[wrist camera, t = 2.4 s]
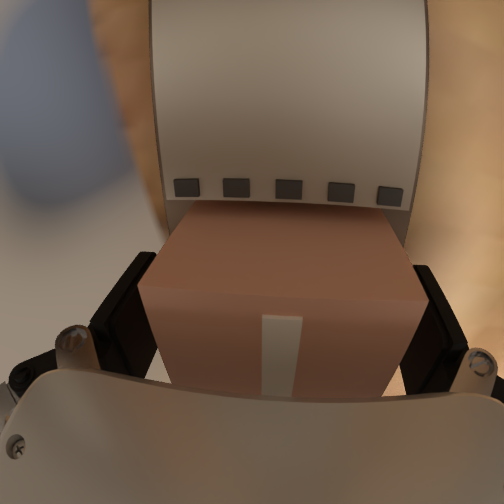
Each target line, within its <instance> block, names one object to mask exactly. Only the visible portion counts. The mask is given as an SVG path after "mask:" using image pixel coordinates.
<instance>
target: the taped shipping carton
mask: <svg viewBox="0 0 504 504" xmlns="http://www.w3.org/2000/svg"><path fill="white" fill-rule="evenodd" d="M137 286H138V289H139V293H140V296H141V299H142V302H143V305H144V309H145V312H146V315H147V318H148V321H149V324H150V327H151V330H152V332H153V335H154V338H155V341H156V344H157V347H158V349H159V352H160V355H161V357H162V360H163V363H164V365H165V368H166V370H167V373H168V375H169V378H170V380H171V383H172V384H176V385H182V386H188V387H195V388H202V389H209V390H217V391H225V392H234V393H244V394H255V395H268V396H284V397H308V398H361V397H381V396H382V394H383V393H384V391H385V389H386V387H387V386H388V384H389V382H390V380H391V379H392V377H393V375H394V373H395V371H396V369H397V368H398V366H399V364H400V362H401V360H402V358H403V356H404V354H405V352H406V350H407V348H408V346H409V344H410V342H411V340H412V338H413V336H414V334H415V332H416V329H417V327H418V325H419V323H420V321H421V318H422V316H423V314H424V311H425V309H426V307H427V304H428V302H429V300H428V297H427V295H426V293H425V291H424V289H423V287H422V285H421V283H420V280H419V278H418V276H417V274H416V272H415V270H414V268H413V266H412V264H411V262H410V260H409V259H408V257H407V255H406V253H405V251H404V249H403V247H402V245H401V243H400V242H399V240H398V238H397V236H396V234H395V233H394V231H393V229H392V227H391V225H390V224H389V222H388V220H387V219H386V217H385V215H384V213H383V212H382V210H381V208H372V207H359V206H345V205H330V204H313V203H293V202H268V201H234V200H195V202H194V203H193V204H192V206H191V207H190V209H189V210H188V211H187V213H186V214H185V216H184V217H183V218H182V220H181V221H180V223H179V224H178V225H177V227H176V228H175V230H174V231H173V232H172V234H171V235H170V237H169V238H168V240H167V241H166V243H165V244H164V246H163V247H162V248H161V250H160V251H159V253H158V254H157V256H156V257H155V259H154V260H153V262H152V263H151V265H150V266H149V268H148V269H147V271H146V272H145V274H144V275H143V277H142V279H141V280H140V282H139V283H138V285H137Z"/></svg>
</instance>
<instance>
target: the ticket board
mask: <svg viewBox="0 0 504 504" xmlns="http://www.w3.org/2000/svg"><path fill="white" fill-rule="evenodd" d="M149 48H150V70H151V86H152V100H153V112H154V123H155V133H156V142H157V151H158V160H159V168H160V175H161V183H162V190H163V197H164V204H165V210H166V217H167V223H168V229H169V235H171V234H172V232H173V231H174V230H175V228H176V227H177V225H178V224H179V223H180V221H181V220H182V218H183V217H184V216H185V214H186V213H187V211H188V210H189V209H190V207H191V206H192V204H193V203H194V202H195V200H234V201H268V202H293V203H313V204H330V205H345V206H359V207H372V208H381V210H382V212H383V213H384V215H385V217H386V219H387V220H388V222H389V224H390V225H391V227H392V229H393V231H394V233H395V234H396V236H397V238H398V240H399V242H400V243H401V245H402V247H403V246H404V242H405V238H406V234H407V230H408V225H409V221H410V216H411V212H412V207H413V202H414V197H415V192H416V187H417V181H418V175H419V169H420V163H421V156H422V149H423V141H424V133H425V123H426V113H427V100H428V82H429V23H428V7H427V0H149Z"/></svg>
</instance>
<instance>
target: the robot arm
mask: <svg viewBox="0 0 504 504" xmlns="http://www.w3.org/2000/svg"><path fill="white" fill-rule="evenodd" d="M156 256H157V255H156V253H155V252H140V253H139V254H138V255H137V257H136V258H135V259H134V260H133V262H132V263H131V264H130V266H129V267H128V268H127V270H126V271H125V272H124V274H123V275H122V276H121V278H120V279H119V280H118V282H117V283H116V285H115V286H114V287H113V289H112V290H111V291H110V293H109V294H108V295H107V297H106V298H105V300H104V301H103V302H102V304H101V305H100V307H99V308H98V310H97V311H96V312H95V314H94V315H93V317H92V318H91V320H90V324H89V326H88V327H86V326H83V325H73V326H70V327H68V328H66V329H64V330H63V331H62V332H60V334H59V335H58V336H57V338H56V340H55V349H52V350H50V351H48V352H45V353H43V354H41V355H39V356H36V357H33V358H31V359H29V360H26V361H24V362H22V363H20V364H18V365H17V366H15V367H14V368H13V370H12V371H11V373H10V376H9V383H7V384H6V382H5V381H4V382H3V383H1V384H0V504H504V379H502V378H501V377H499V376H498V375H497V371H498V366H497V362H496V360H495V358H494V357H493V356H492V355H491V354H490V353H489V352H488V351H486V350H484V349H482V348H471V349H470V350H469V347H468V345H467V343H468V342H467V340H466V337H465V335H464V333H463V331H462V329H461V327H460V325H459V323H458V321H457V319H456V317H455V315H454V313H453V311H452V309H451V307H450V305H449V303H448V301H447V299H446V297H445V295H444V293H443V292H442V290H441V288H440V286H439V284H438V282H437V281H436V279H435V277H434V275H433V274H432V272H431V270H430V268H429V267H428V266H426V265H413V268H414V270H415V272H416V274H417V276H418V278H419V280H420V283H421V285H422V287H423V289H424V291H425V293H426V295H427V297H428V300H429V302H428V304H427V307H426V309H425V311H424V314H423V316H422V318H421V321H420V323H419V325H418V327H417V329H416V332H415V334H414V336H413V338H412V340H411V342H410V344H409V346H408V348H407V350H406V352H405V354H404V356H403V358H402V360H401V362H400V364H399V365H400V369H401V373H402V378H403V382H404V386H405V391H406V395H401V396H384V397H361V398H308V397H284V396H268V395H255V394H244V393H234V392H225V391H217V390H209V389H202V388H195V387H188V386H182V385H176V384H170V383H165V382H159V381H154V380H148V379H144V378H145V376H146V373H147V371H148V369H149V366H150V364H151V362H152V359H153V357H154V355H155V353H156V350H157V348H158V347H157V344H156V341H155V338H154V335H153V332H152V330H151V327H150V324H149V321H148V318H147V315H146V312H145V309H144V305H143V302H142V299H141V296H140V293H139V289H138V286H137V285H138V283H139V282H140V280H141V279H142V277H143V275H144V274H145V272H146V271H147V269H148V268H149V266H150V265H151V263H152V262H153V260H154V259H155V257H156Z"/></svg>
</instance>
